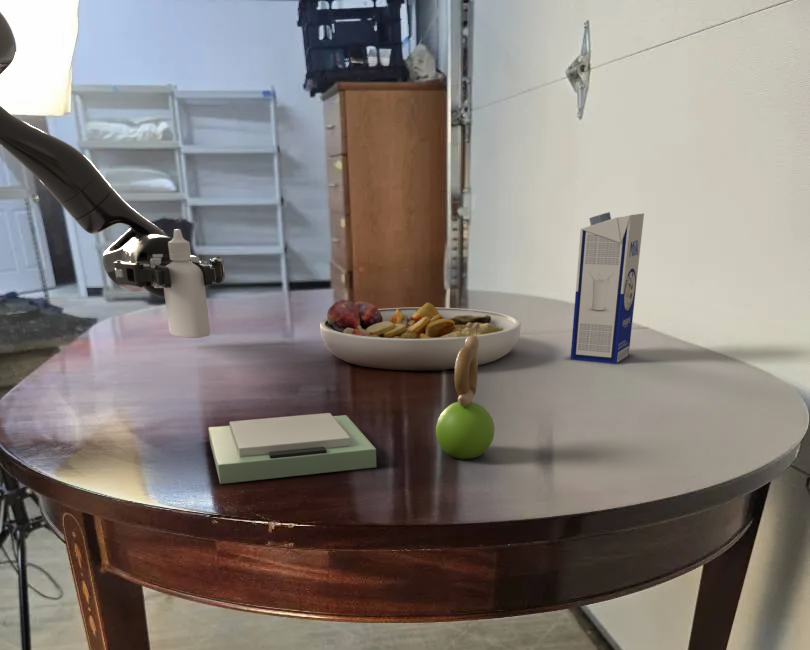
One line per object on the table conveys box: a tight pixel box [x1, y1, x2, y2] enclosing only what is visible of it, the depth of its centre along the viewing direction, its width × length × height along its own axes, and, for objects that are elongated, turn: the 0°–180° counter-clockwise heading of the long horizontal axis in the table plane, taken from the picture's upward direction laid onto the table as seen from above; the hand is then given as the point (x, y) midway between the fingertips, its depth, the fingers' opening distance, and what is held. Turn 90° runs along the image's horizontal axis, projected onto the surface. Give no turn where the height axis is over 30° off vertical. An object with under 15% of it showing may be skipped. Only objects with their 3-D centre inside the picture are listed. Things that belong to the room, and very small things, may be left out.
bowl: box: [319, 299, 522, 372], centre depth 117 cm, size 30×30×8 cm
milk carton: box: [570, 211, 645, 365], centre depth 110 cm, size 7×7×20 cm
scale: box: [208, 412, 377, 485], centre depth 73 cm, size 14×12×3 cm
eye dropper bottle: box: [164, 228, 211, 339], centre depth 91 cm, size 4×6×12 cm
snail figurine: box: [435, 322, 495, 460], centre depth 71 cm, size 5×6×12 cm
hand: (188, 276), depth 89 cm, fingers closed on eye dropper bottle, 4 cm apart
